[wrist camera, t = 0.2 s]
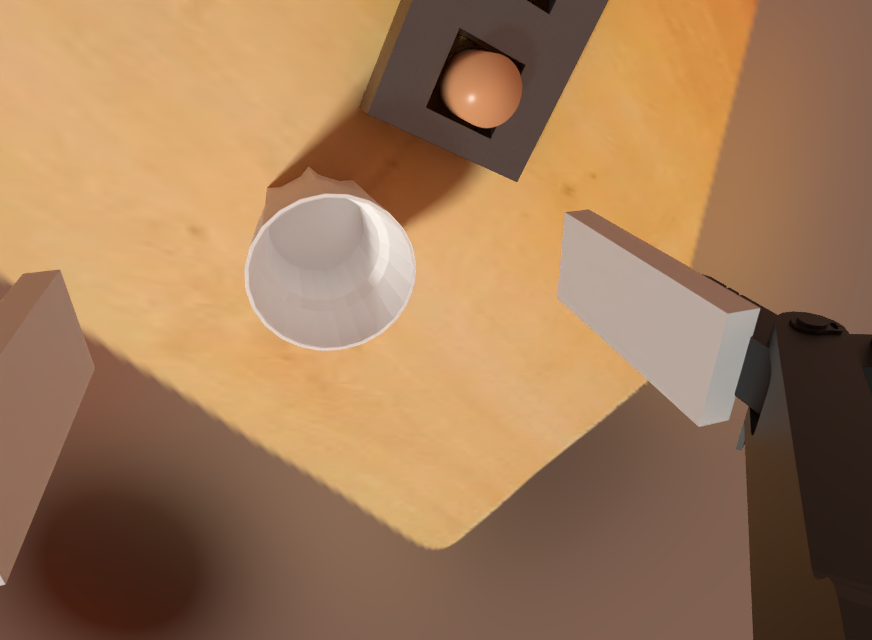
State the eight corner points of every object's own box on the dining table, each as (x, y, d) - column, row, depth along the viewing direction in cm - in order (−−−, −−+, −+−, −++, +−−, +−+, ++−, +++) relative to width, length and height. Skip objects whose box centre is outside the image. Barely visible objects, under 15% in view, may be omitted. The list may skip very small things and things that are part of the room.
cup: (263, 135, 39) (269, 171, 30) (400, 179, 43) (438, 220, 34) (230, 269, 42) (227, 334, 34) (359, 298, 46) (385, 362, 38)
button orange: (456, 36, 38) (475, 39, 34) (511, 67, 39) (534, 72, 36) (428, 102, 39) (444, 110, 36) (482, 129, 41) (502, 138, 38)
